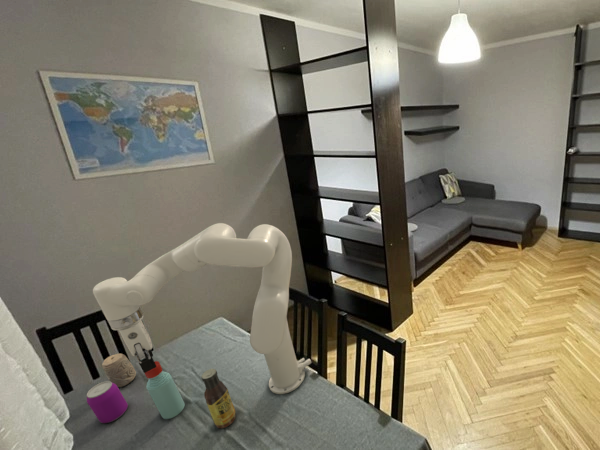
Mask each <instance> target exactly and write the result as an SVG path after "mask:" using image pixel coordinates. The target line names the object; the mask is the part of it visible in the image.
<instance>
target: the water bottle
mask: <svg viewBox="0 0 600 450" xmlns="http://www.w3.org/2000/svg"><path fill="white" fill-rule="evenodd" d="M147 380H148V381H147V382H146V390H147V392H148V393H149V395H150V398H151V399H152V401H153V403H154V405H155V406H156V408H157V411H158V412H159V414H160V416H161V418H163V420H170V419H173V418H175V417H176V416H178V415H179V414H180V413H181V412H182V411H183V410H184V408H185V404H186V403H185V401H184V399H183V398H182V395H181V393H180V391H179V389H178V387H177V385H176V383H175V381H174V378H173V377H172V375H171V373H169V372H168V371H162V372H161V373H160V374H159V375H157V376H156V377H154V378H148V379H147Z"/></svg>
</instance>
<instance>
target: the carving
mask: <svg viewBox="0 0 600 450" xmlns="http://www.w3.org/2000/svg"><path fill="white" fill-rule="evenodd" d="M101 367H102V369H103V371H104V374H105V376H106V378H107V379H108V380H107V381H110V382H112V383H114V384H116V385H117V387H118V388H123V387H125V386H127V385H129V384H130V383H132V381H133V380H134V379H135V378H136V375H137V371H136V369H135V367H134V366H133V363H131V361H130V359H129V358H128V357H127V356H126V355H125V354H123V353H122V352H121V353H115V354H112V355H109V356H107V357H106V358H105V359H104V360H103V362H102V364H101Z"/></svg>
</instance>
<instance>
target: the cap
mask: <svg viewBox="0 0 600 450" xmlns="http://www.w3.org/2000/svg"><path fill="white" fill-rule="evenodd" d="M154 362H155V364H156V368H154V369H152V370H150V371H148V372H146V373H144V375H145V377H146V378H147V379H149V378H154V377H156V376H157V375H159V374H160V373H161V372H163V366H162V365H161V363H160V362H159V361H157V360H154Z"/></svg>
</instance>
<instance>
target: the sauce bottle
mask: <svg viewBox="0 0 600 450" xmlns="http://www.w3.org/2000/svg"><path fill="white" fill-rule="evenodd" d="M200 377H201V381H202V382H203V383H204V387H205V390H204V393H203V394H204V399H205V403H206V406H207V408H208V411H209V414H210V416H211V418H212V422H213V423H214V425H215V426H216V428H217V429H225V428H227V427H229V426H230V425H231V424H233V423H234V421H235V420H236V416H237V414H236V409H235V406H234V404H233V400H232V397H231V395H230V393H229V389H228V387H227V386H226V385H225V384H224V382H223V381H222V380H220V378H219V376H218V371H217V370H216V368H209V369H207V370H205V371H204V372H203V373H202V374H201V376H200Z"/></svg>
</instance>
